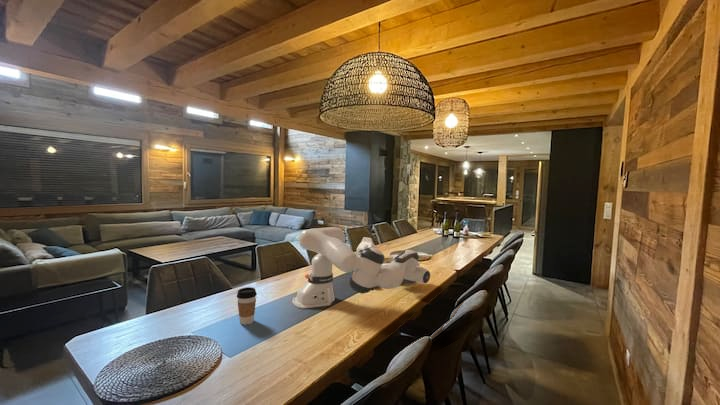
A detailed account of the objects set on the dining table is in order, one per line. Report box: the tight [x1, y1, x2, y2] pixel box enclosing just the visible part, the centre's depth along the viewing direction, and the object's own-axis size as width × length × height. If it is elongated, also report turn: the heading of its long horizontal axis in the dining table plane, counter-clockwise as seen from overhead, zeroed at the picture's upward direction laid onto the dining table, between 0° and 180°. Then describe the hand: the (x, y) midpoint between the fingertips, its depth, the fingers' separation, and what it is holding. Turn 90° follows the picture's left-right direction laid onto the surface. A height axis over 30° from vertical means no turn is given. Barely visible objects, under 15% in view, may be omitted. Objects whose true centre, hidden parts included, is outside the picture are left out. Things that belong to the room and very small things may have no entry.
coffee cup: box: [236, 287, 257, 326], centre depth 135 cm, size 8×8×15 cm
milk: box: [355, 236, 378, 254], centre depth 206 cm, size 12×12×26 cm
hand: (394, 264), depth 196 cm, fingers open, 6 cm apart
